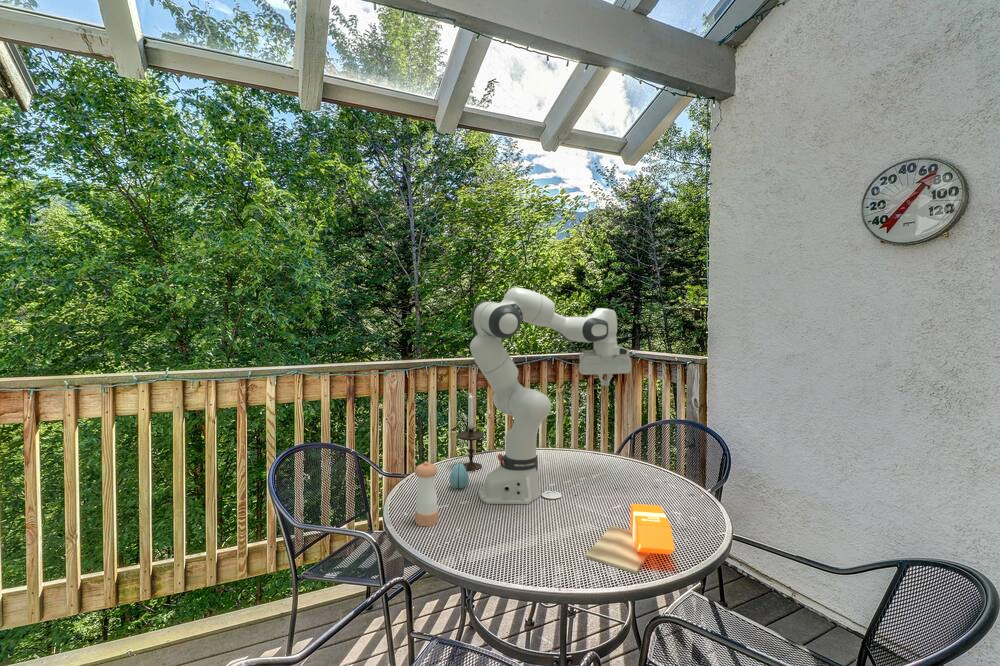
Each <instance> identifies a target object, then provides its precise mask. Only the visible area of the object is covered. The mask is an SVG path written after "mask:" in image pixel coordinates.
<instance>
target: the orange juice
mask: <svg viewBox="0 0 1000 666" xmlns="http://www.w3.org/2000/svg"><path fill="white" fill-rule="evenodd" d="M629 521H630V522H629V523H630V526H629V528H630V529H629V530H630V531H631V532H632V536H633V540H634V542H635V546H636V549H637V552H648V553H650V554H659V555H662V554H663V555H671V554H672V553H673V552H674V551H675V550H676V549H675V544H674V537H673V534H672V533H673V531H672V526H671V524H670V522H669V520H668V517H667V516H666V513H665V512H664V510H663V508H662V506H661V505H653V504H641V503H639V504H638V503H630V520H629Z"/></svg>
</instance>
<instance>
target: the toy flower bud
mask: <svg viewBox="0 0 1000 666" xmlns="http://www.w3.org/2000/svg"><path fill="white" fill-rule="evenodd" d="M463 464H464V463H461V462H460V463H459V462H458V463H455V465H454V466H453V467H452V470H450V473H449V474H450V475H449V484H450V485H451V486H452V488H454V489H456V488H457V489H461V488H462V489H465V487H466V486H467V485H468V483H469V481H470V479H469V472H467V471H466V469H465V466H464V465H463Z"/></svg>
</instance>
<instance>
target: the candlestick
mask: <svg viewBox="0 0 1000 666" xmlns="http://www.w3.org/2000/svg"><path fill="white" fill-rule="evenodd" d="M468 390H469V391H468V392H469V396H467V397H468V398H467V399H468V401H467V404H468V408H467V409H468V414H467V415H468V426H467V427H466V428H465V429H467V431H461V432H458V434H457V438H458V440H462V441H467V442H468V441H469V449H467V453H468V456H467V457H468V458H469V462H464V463H462V464H463V465H464V466H465V469H466V471H475V470H479V469H481V468H482V469H483V465H482V464H481V463H479V462H474V457H475V455H474V453H475V449H474V448H473V447H474V445H473V443H474V442H473V441H478V440H482V439H484V437H485V434H484V432H483V431H478V430H475V429H476V427H474V396H473V395H472V386H469V389H468ZM482 469H481V470H482ZM479 471H480V470H479Z"/></svg>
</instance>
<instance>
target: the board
mask: <svg viewBox="0 0 1000 666" xmlns="http://www.w3.org/2000/svg"><path fill="white" fill-rule="evenodd" d="M650 554H651V553H648V552H637V549H636V546H635V542H634V540H633V536H632V532H631V529H626V528H622V527H617V526H615V525H611V526H610V527H609V528H608V529H607V531H605V532H604V534H603V535H602V536H601V537H600V538H599V539H598V540H597V541H596V542H595V543H594V545H593V546H592V547H591V548H590V549H588V551H587V552H586V554H585V558H586V559H589V560H592V561H594V562H598V563H601V564H604V565H608V566H611V567H615V568H617V569H621V570H624V571H627V572H630V573H634V574H636V575H637V574H638V572H639V571H641V568H642V567H643V565H644V564H645V562H646V561H647V559H648V558H649V555H650Z"/></svg>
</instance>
